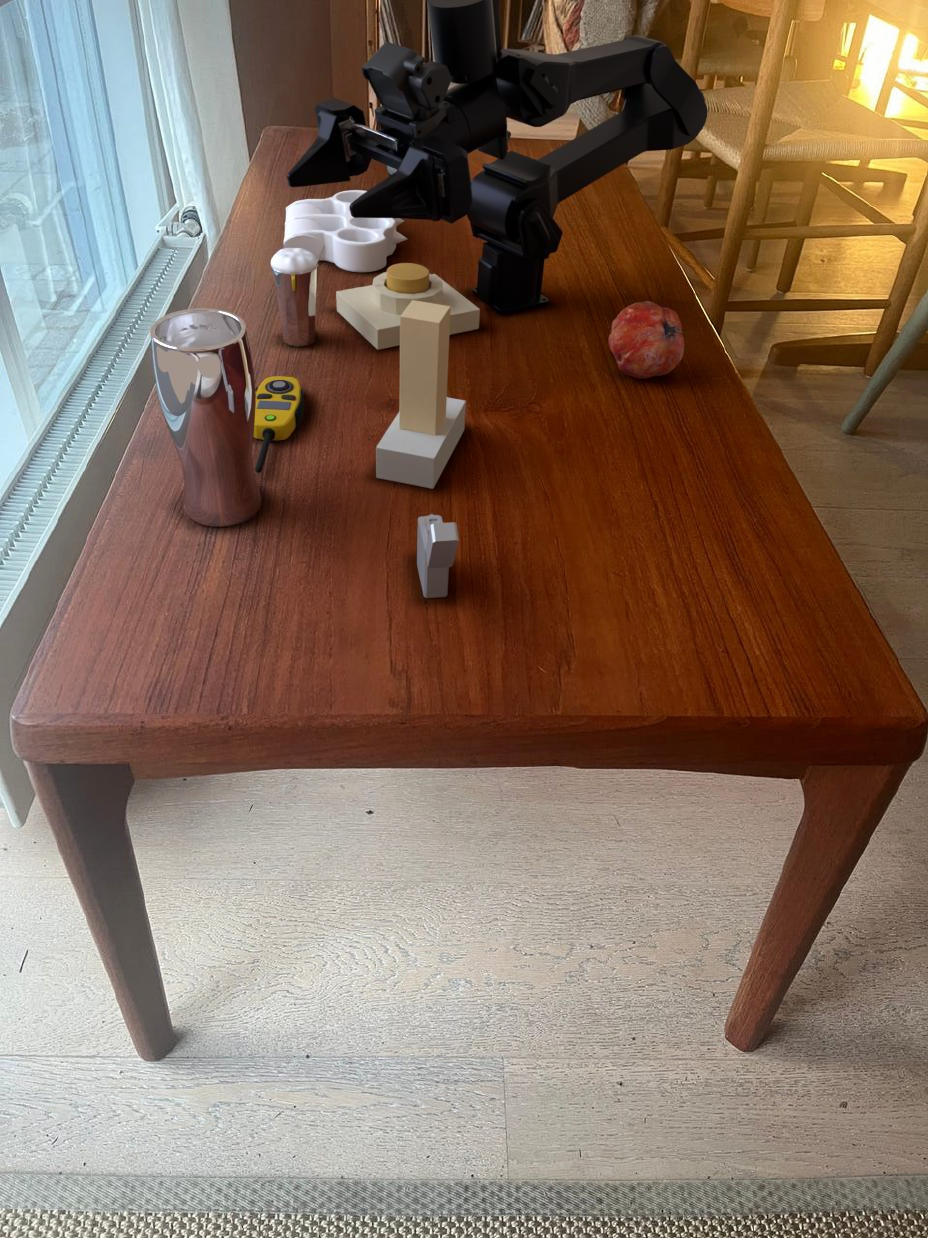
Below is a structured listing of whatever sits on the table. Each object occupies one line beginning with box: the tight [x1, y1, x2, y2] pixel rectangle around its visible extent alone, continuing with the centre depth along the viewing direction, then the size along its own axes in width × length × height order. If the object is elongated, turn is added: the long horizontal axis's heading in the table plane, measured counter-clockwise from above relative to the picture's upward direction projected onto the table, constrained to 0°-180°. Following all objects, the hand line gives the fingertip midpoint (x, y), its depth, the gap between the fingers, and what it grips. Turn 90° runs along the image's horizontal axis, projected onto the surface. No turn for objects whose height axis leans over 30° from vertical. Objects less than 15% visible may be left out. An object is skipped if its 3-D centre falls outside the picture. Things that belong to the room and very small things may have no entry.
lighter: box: [416, 513, 460, 599], centre depth 69 cm, size 7×2×8 cm, turn 10°
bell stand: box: [335, 271, 481, 351], centre depth 103 cm, size 12×10×4 cm
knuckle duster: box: [283, 189, 408, 273], centre depth 119 cm, size 3×18×15 cm
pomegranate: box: [608, 300, 685, 380], centre depth 96 cm, size 7×7×10 cm
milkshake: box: [270, 246, 324, 348], centre depth 96 cm, size 4×5×10 cm
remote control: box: [253, 375, 305, 474], centre depth 86 cm, size 5×2×15 cm
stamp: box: [375, 300, 467, 490], centre depth 81 cm, size 5×10×13 cm, turn 165°
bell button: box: [386, 262, 430, 294], centre depth 102 cm, size 4×4×2 cm
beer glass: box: [149, 307, 263, 528], centre depth 73 cm, size 7×7×15 cm
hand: (318, 195), depth 86 cm, fingers open, 9 cm apart
